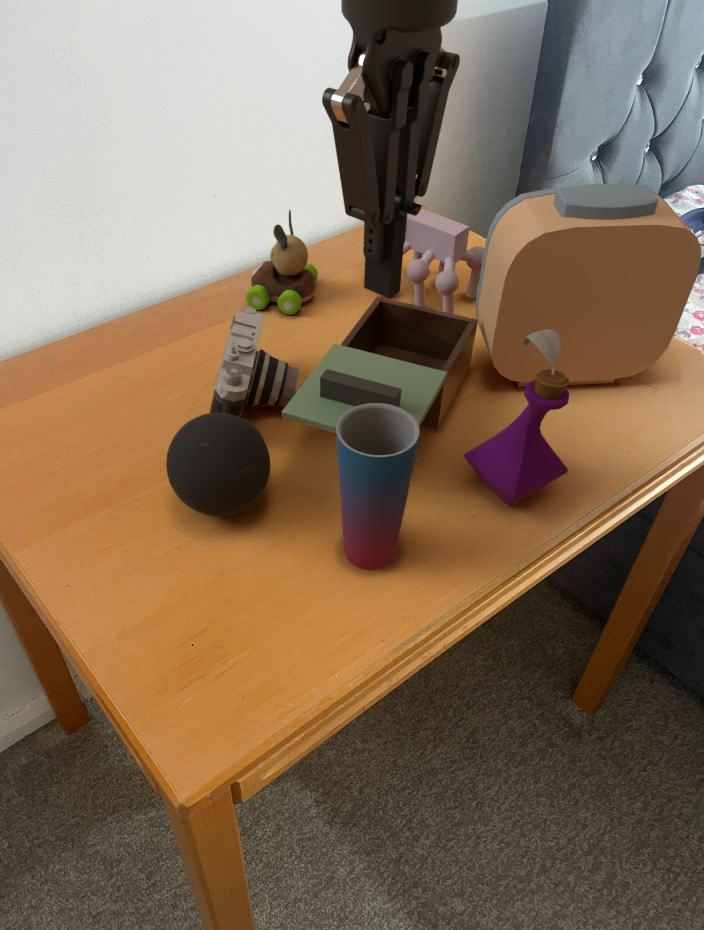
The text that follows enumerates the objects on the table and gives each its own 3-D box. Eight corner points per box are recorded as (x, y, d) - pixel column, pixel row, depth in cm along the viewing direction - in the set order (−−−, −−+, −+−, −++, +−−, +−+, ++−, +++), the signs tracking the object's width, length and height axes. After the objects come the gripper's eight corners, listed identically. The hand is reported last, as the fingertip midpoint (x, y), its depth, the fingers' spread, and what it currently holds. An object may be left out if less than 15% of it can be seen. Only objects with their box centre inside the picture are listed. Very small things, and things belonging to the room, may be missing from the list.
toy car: (264, 275, 108) (259, 198, 100) (323, 284, 106) (323, 206, 98) (241, 308, 102) (234, 229, 94) (304, 318, 100) (302, 238, 92)
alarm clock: (626, 341, 96) (685, 168, 81) (653, 386, 90) (723, 208, 74) (466, 347, 95) (495, 174, 80) (482, 393, 89) (517, 214, 73)
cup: (327, 569, 70) (327, 449, 60) (342, 518, 75) (345, 397, 64) (399, 583, 69) (412, 463, 58) (410, 529, 74) (425, 409, 63)
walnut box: (469, 367, 92) (478, 319, 87) (437, 428, 84) (444, 379, 79) (374, 344, 96) (376, 296, 91) (334, 400, 88) (335, 351, 83)
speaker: (190, 462, 81) (177, 386, 73) (281, 472, 79) (277, 397, 72) (161, 530, 74) (143, 454, 67) (260, 543, 73) (253, 467, 65)
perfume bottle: (562, 493, 77) (610, 344, 64) (506, 522, 74) (545, 372, 61) (512, 452, 82) (548, 304, 69) (458, 478, 79) (485, 329, 66)
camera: (278, 463, 83) (301, 393, 76) (201, 443, 81) (217, 371, 74) (291, 377, 94) (312, 309, 87) (223, 359, 92) (239, 289, 85)
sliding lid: (446, 378, 79) (450, 352, 77) (404, 453, 71) (407, 427, 69) (333, 349, 83) (334, 324, 81) (281, 417, 75) (280, 392, 73)
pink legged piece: (329, 278, 107) (329, 182, 97) (376, 251, 113) (381, 157, 103) (443, 330, 98) (457, 230, 88) (489, 298, 103) (507, 200, 94)
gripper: (415, -77, 52) (393, 247, 69) (286, -46, 45) (297, 305, 62) (510, -63, 48) (462, 274, 65) (386, -28, 42) (368, 339, 59)
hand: (381, 289), depth 64 cm, fingers closed
